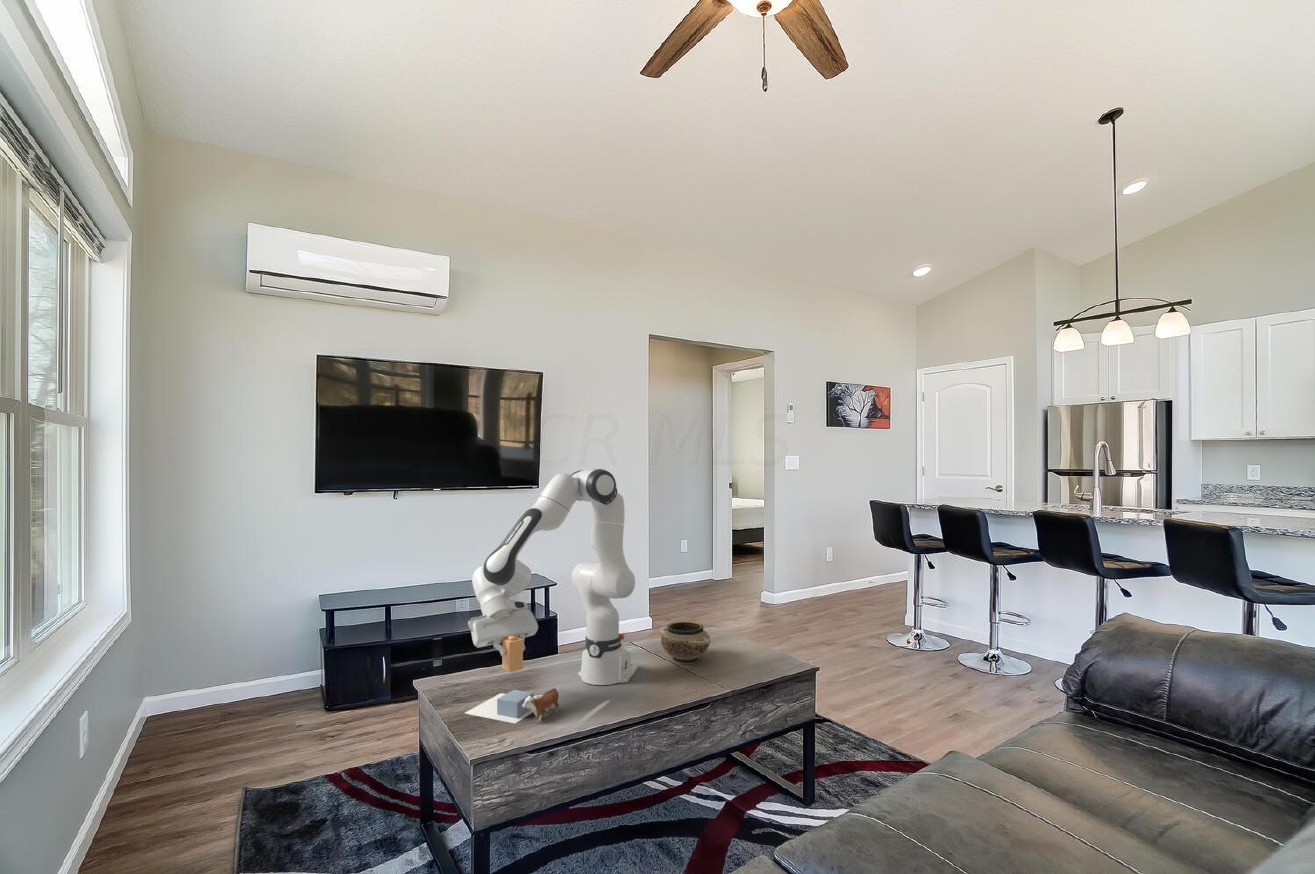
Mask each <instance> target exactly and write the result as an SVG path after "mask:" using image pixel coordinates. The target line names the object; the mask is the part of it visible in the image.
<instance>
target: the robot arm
mask: <svg viewBox="0 0 1315 874" xmlns="http://www.w3.org/2000/svg"><path fill="white" fill-rule="evenodd" d="M577 501H579V502H580V501H583V502H591V504H592V505H591V506H592V508H593V513H592V522H591V523H592V524H591V531H590V546H591V548H592V549H593V550H594V551H595V553H596V555H597V559H598V562H597V561H583V562H580V563H578V564H576V565H575V567H574V568H573V570H572V573H571V583H572V585H573V587H574V588H575V589H576V591H577V592H578V594H579V595H580V598H581V600H582V604H583V606H584V607H583V608H584V611H585V621H586V624H585V625H586V636H585V639H584V645H585V646H584V648H585V649H584V651H582V658H581V667H580V668H581V670H579V671H578V676H579V677H580V678H581V680H582V682H583V683H586V684H589V685H595V686H608V685H609V686H610V685H615V684H623V683H624V684H625V683H628V682H629V681H630V679H631V678H632V677H633V676H634V674H635V673H636V671H638V665H636V664H635V663H632V658H631V657H632V656H631V652H630V651H629V650H628V649H626V648H625V647H624V646H623V645H622V641H623V640H625V636H626V635H625V633H620V615H619V612H618V610H617V609H616V607H614V605H613V604H612V601H611V599H613V600H614V599H625V598H628V597H629V596H631V594H632V593H633V592H634V590H635V586H636V577H635V575H634V573H633V570H631V569H630V568H629V565H628V564H627V561H626V557H625V553H624V545H623V543H624V529H625V500H624V497H623V496H622V494H620V493H619V492H618V488H617V482H616V479H615V477H614V475H613V473H611V472H610V471H608V470H606V469H603V468H598V469H597V468H587V469H584V470H582V469H581V470H577V471H575V472H573V473H571V474H568V473H564V472H562V473H561V472H559V473H557V474H556V475H554V476H553V477H552V479H551V480H550V481H549V482H548V483H547V485H546V486H545V487H544V489H543V490H542V491H541V493H540V495H539V497H538V499H537V500H536V501H535V503H534V504H533V505H532V506H531V508H529V509H527V510H525V512H524V513H523V514H522V515H521V516H520V517H519V519H518V520H517V521H516V523H515V524H514V525H513V526H512V528H511V530H510V531H509V532H508V533H507V535H506V537H505V538H504V539H503V540H502V542H501V543H500V545H498V547H496V548H495V549H494V550H493V551H492V552H491V553H490V554H488V556H487V557H486V559H485V561H484V563H483V565H481V566H479V567H478V568H476V570H474V572H473V574H472V577H471V583H472V588H473V591H474V595H475V597H476V601H478V603H479V604H480V611H481V613H482V615H479V616H474V617H471V618H470V619H469V620H468V621H467V626H468V629H469V630H470V632H471V639H472V643H473V646H475V647H476V648H477V649H478V648H483V647H488V646H491V645H492V646H493V648H494V649H495V650H497V651H498V652H499V653H500V656H501V657H502V656H503V655H506V654H507V650H506V647H502V639H506V638H508V637H509V636H517V637H518V638H520V639H522V640H523V652H524V651H525V650H526V646H525V638H528V637H532V636H535V635H536V633H537V631H538V629H539V625H538V622H537V620H536V618H535V616H534V614H533V612H532V611H531V610H530V609H528V608H529V607H528V603H527V602H526V601H519V600H518V601H517V600H513V599H510V598H511V597H514V596H516V595H518V594H520V593H522V592H524V591H525V590H527V588H528V587H529V586H530V584H531V581H532V576H533V574H532V571H531V568H529V567H528V566H527V565H526V564H525V563H524V562H522V561H521V560H519V559H518V555H519V553H520V552H521V551H522V550H523V548H524V547H525V545H526V544H527V543H528V541H529V539H530V538H531V537H532V535H534V534H536V533H537V532H541V531H543V532H544V531H546V532H547V531H548V532H549V531H550V532H551V531H553V530H556V529H558V528H560V526H562V524H563V523H564V522H565V521H566V519H567V517H568V515H569V513H570V512H571V510H572V507H573V505H574V504H575V503H576V502H577Z"/></svg>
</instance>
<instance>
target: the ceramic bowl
mask: <svg viewBox="0 0 1315 874" xmlns="http://www.w3.org/2000/svg"><path fill="white" fill-rule="evenodd" d="M659 634H660V635H661V638H660V640H661V641H660V642H661V643H660V644H661V646H662V648H663V649H664V651H665V652H666V653H667V654H668V655H669V656H670V657H672V660H673V662H674V663H677V664H681V665H692V664H695V663H697V662H698V661H699V657H701V656H702V655H704V654H705V653H706V651H707V650H708V648H709V646H710V644H711V642H712V641H711V639H710V635H709V634H708V632H707V631H706V630H705V629H704V624H702V623H701V622H698V621H694V620H693V621H692V620H678V621H674V622H671V623H668V624H667V626H665V627H663V628H661V629H660V631H659Z"/></svg>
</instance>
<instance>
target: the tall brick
mask: <svg viewBox="0 0 1315 874" xmlns="http://www.w3.org/2000/svg"><path fill="white" fill-rule="evenodd" d="M501 646H502V647H506V650H507V654H506V655H503V656H501V658H502V661H501V662H502V665H501V667H502V668H501V669H502V670H504V671H506V672H508V673H512V672H516V671H519V670H524V651H523V640H522V639H520V638H518V637H517V636H509V637H508V638H506V639H502V642H501Z"/></svg>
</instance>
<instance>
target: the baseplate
mask: <svg viewBox="0 0 1315 874" xmlns="http://www.w3.org/2000/svg"><path fill="white" fill-rule="evenodd" d="M505 694H506V693H502V692H500V693H499V694H496V695H495V696H493V697H491V698H490V699H489V698H488V700H485V701H483V702H481V703H480V704H479V705H476V706H475V707H473V708H471V709H469V710H467V711H466V712H464V714H465V715H466V714H467V715H471V716H476V717H481V718H486V719H491V720H495V721H501V722H505V723H510V724H517V723H518V722H520V721H521V720H523V719H524V718H526V717H528V716H529V715H531V714H533V712H532V710H530V711H528V712H527V713H525V714H523V715H522V716H520V717H519V718H512V717H507V716H502V715H497V699H498V698H500V697H502V696H503V695H505Z"/></svg>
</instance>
